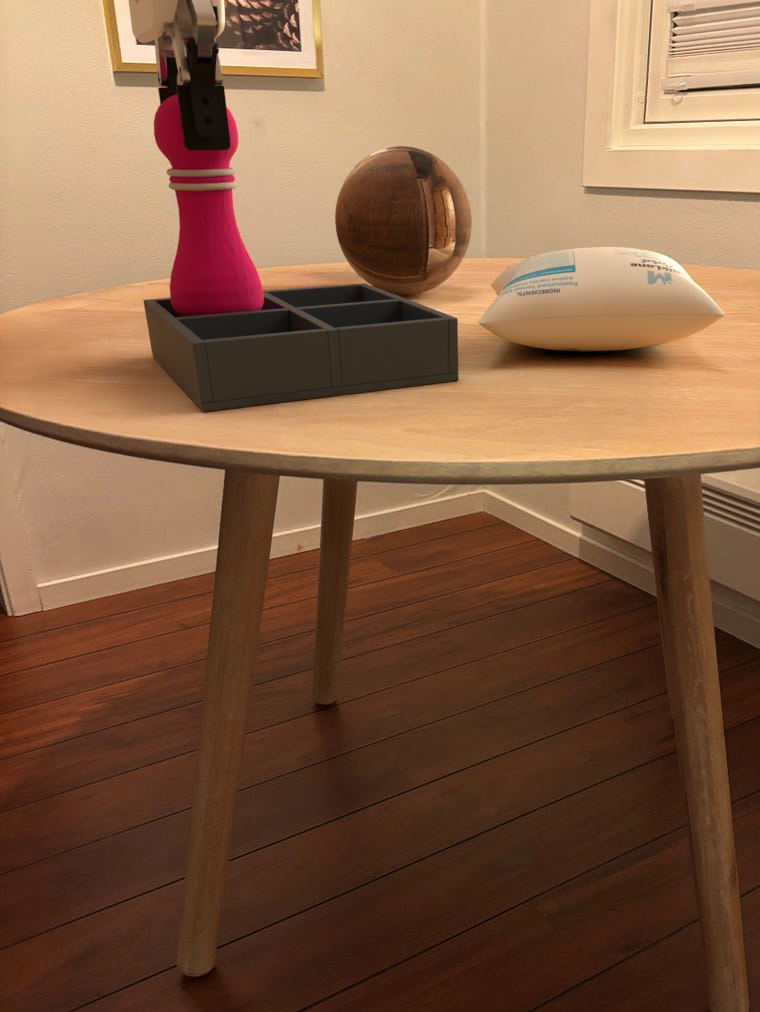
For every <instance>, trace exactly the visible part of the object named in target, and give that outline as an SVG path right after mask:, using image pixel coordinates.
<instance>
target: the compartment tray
mask: <svg viewBox="0 0 760 1012" xmlns="http://www.w3.org/2000/svg"><path fill="white" fill-rule="evenodd" d="M263 295H264V303H263V306H262V309H261V310H258V311H247V312H235V313H223V314H211V315H199V316H187V317H180V316H179V315H178V314H177V312H176V311H175V310H174V308H173V307H172V304H171V298H170V297H164V298H149V299H143V306H144V312H145V319H146V324H147V331H148V336H149V343H150V349H151V354H152V355H151V356H152V357H153V359H154V360H155V361H156V362H157V363H158V364H159V365H160V367H162V369H163V370H164V371H165V372H166V373H167V374H168V375H169V376H170V377H171V379H173V380H174V382H175V384H177V386H179V387H180V388H181V389H182V391H183V392H184V393H185V394H186V395H187V396H188V397H189V398H190V399H191V401H193V403H194V404H195V405H196V406H197V408H198V409H199V410H201V412H203V413H206V412H215V411H221V410H222V411H223V410H231V409H239V408H245V407H247V408H249V407H255V406H262V405H272V404H280V403H288V402H295V401H303V400H311V399H312V400H313V399H319V398H327V397H328V398H329V397H337V396H343V395H353V394H359V393H360V394H361V393H370V392H377V391H385V390H392V389H393V390H394V389H400V388H409V387H417V386H425V385H426V386H427V385H434V384H442V383H449V382H457V381H459V380H460V379H459V378H460V377H459V322H458V321H459V319H458V318H457V317H456V316H453V315H450V314H447V313H445V312H442V311H439V310H436V309H434V308H431V307H429V306H427V305H423V304H421V303H418V302H416V301H413V300H411V299H408V298H405V297H402V296H401V295H398V294H392V293H389V292H387V291H384V290H382V289H379V288H376V287H374V286H372V285H371V284H369V283H367V282H366V283H365V282H363V283H349V284H335V285H322V286H307V287H296V288H295V287H293V288H281V289H280V288H279V289H267V290H263Z"/></svg>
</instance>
